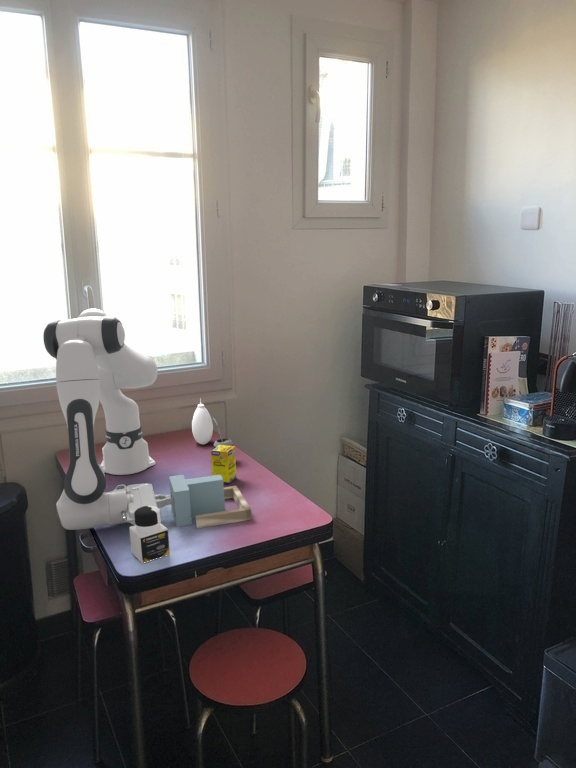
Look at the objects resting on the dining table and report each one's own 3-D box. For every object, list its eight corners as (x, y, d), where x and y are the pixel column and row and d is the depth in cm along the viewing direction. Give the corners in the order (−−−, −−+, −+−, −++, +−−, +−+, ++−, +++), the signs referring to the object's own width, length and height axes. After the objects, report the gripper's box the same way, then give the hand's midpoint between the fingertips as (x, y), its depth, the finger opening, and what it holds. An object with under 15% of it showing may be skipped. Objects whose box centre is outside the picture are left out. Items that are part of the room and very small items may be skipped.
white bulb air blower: (212, 446, 233) (209, 400, 229) (191, 447, 233) (188, 400, 229) (214, 440, 240) (212, 394, 236) (194, 440, 240) (191, 395, 236)
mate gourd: (231, 466, 212) (229, 423, 208) (209, 465, 213) (206, 423, 210) (237, 458, 219) (234, 417, 215) (215, 458, 220) (212, 417, 217)
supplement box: (229, 485, 195) (227, 451, 193) (212, 483, 197) (210, 450, 195) (237, 478, 201) (235, 445, 198) (220, 476, 203) (218, 444, 200)
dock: (186, 502, 183) (186, 493, 182) (236, 495, 187) (236, 485, 187) (196, 528, 166) (196, 518, 166) (251, 519, 171) (250, 509, 170)
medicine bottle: (142, 564, 148) (138, 517, 146) (131, 553, 154) (126, 508, 151) (170, 555, 152) (166, 509, 150) (158, 544, 158) (154, 500, 155)
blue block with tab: (171, 509, 179) (169, 476, 177) (219, 502, 183) (217, 469, 180) (176, 526, 168) (174, 492, 165) (228, 518, 172) (226, 484, 169)
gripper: (121, 511, 158) (176, 503, 162) (118, 482, 177) (167, 475, 181) (123, 534, 159) (178, 525, 163) (120, 503, 178) (169, 496, 182)
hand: (172, 499), depth 172 cm, fingers closed, pressing on blue block with tab
